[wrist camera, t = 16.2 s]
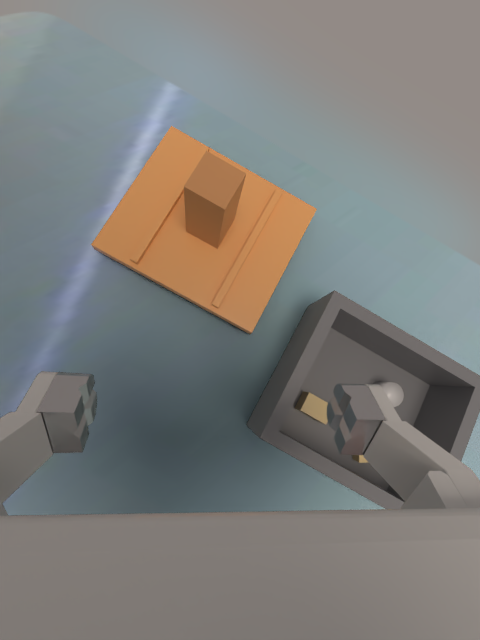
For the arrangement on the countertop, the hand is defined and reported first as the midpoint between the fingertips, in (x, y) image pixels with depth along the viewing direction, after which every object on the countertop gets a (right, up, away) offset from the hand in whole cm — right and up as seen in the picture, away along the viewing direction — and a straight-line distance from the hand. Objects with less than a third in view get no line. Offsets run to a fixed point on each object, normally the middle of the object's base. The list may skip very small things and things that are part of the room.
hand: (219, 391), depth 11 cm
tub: (+10, -5, +19) cm, 22 cm away
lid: (-2, +10, +20) cm, 22 cm away
